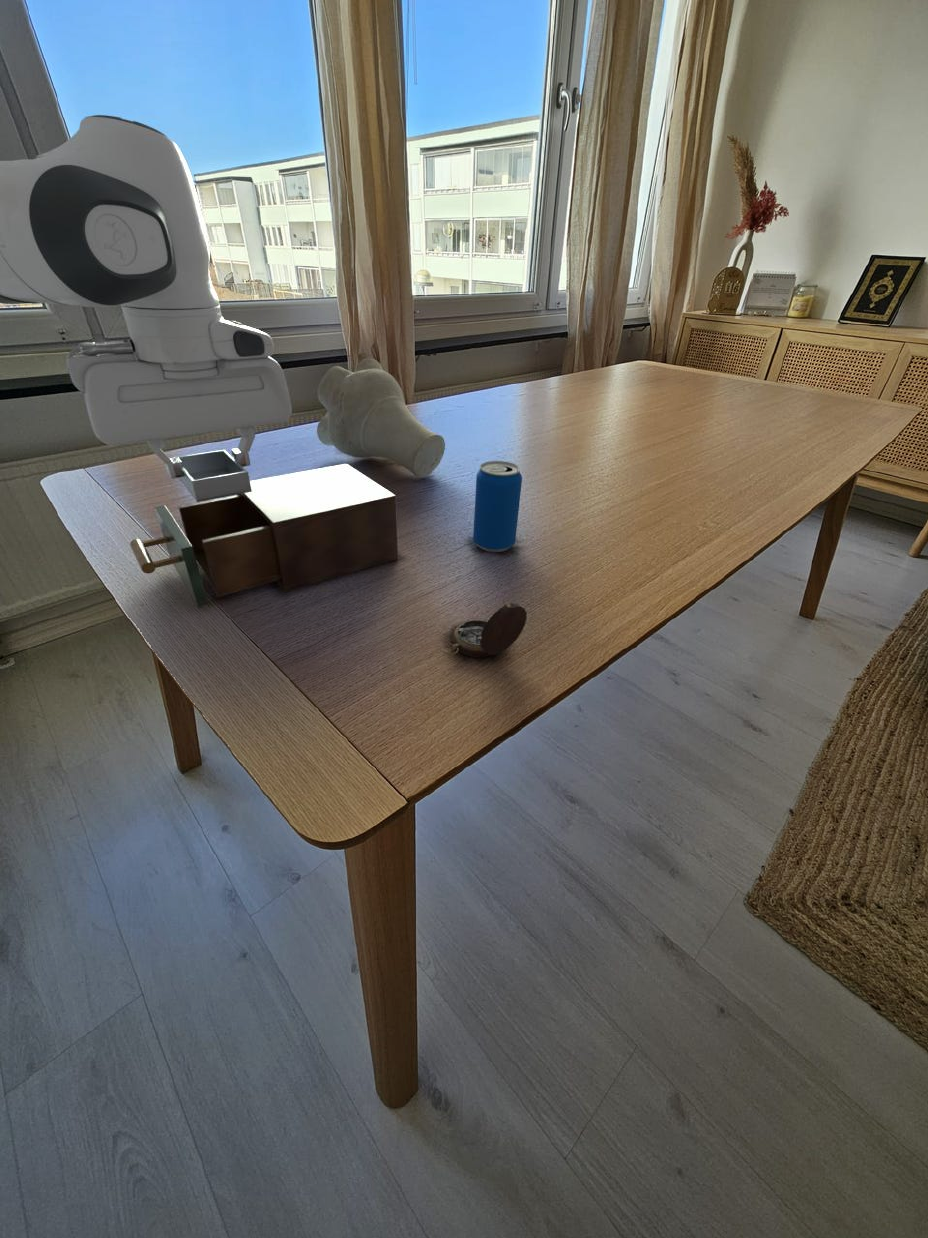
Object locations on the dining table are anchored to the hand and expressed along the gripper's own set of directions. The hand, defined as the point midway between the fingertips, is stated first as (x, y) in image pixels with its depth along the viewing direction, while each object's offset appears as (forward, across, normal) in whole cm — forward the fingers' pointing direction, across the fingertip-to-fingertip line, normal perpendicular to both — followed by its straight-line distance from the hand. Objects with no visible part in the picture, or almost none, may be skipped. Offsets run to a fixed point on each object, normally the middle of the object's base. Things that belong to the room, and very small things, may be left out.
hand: (211, 470), depth 62 cm
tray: (+2, 0, 0) cm, 2 cm away
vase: (+15, +38, +28) cm, 49 cm away
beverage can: (+15, +35, -10) cm, 40 cm away
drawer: (+14, 0, 0) cm, 14 cm away
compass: (+15, +17, -29) cm, 37 cm away
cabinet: (+14, +12, +1) cm, 19 cm away
